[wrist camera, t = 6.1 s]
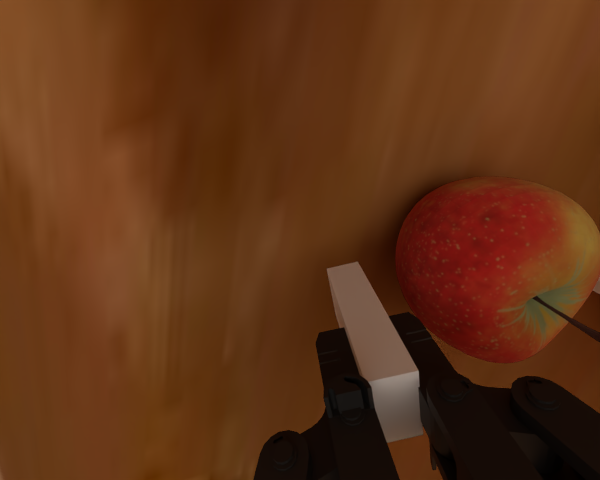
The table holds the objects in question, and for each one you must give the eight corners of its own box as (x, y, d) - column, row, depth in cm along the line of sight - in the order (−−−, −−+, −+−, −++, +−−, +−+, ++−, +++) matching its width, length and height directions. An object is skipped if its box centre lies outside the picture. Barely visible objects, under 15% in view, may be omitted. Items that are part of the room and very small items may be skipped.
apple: (401, 143, 17) (556, 186, 8) (525, 180, 18) (781, 253, 9) (353, 271, 20) (424, 413, 11) (463, 294, 21) (610, 437, 12)
